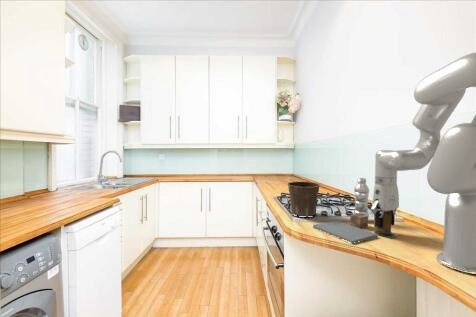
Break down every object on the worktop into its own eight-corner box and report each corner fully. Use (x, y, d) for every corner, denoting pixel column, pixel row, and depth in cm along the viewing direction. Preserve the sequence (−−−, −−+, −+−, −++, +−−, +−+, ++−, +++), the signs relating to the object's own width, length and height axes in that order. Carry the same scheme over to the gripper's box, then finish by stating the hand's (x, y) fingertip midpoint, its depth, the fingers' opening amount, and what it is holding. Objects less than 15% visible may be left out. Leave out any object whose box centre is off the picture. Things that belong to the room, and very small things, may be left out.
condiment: (377, 229, 106) (377, 201, 105) (399, 234, 99) (400, 205, 99) (369, 233, 101) (370, 204, 100) (392, 239, 95) (393, 208, 94)
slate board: (377, 237, 97) (377, 234, 97) (352, 244, 91) (352, 241, 90) (336, 222, 115) (336, 220, 115) (313, 227, 108) (313, 225, 108)
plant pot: (326, 218, 122) (326, 185, 121) (296, 221, 118) (296, 187, 117) (309, 209, 138) (309, 180, 137) (282, 212, 134) (282, 182, 133)
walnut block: (367, 227, 109) (368, 216, 108) (359, 229, 106) (360, 217, 106) (357, 224, 113) (357, 213, 113) (350, 225, 111) (350, 214, 110)
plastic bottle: (353, 221, 116) (353, 179, 115) (353, 217, 122) (354, 177, 121) (368, 223, 113) (369, 179, 112) (368, 219, 119) (369, 178, 118)
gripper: (380, 184, 92) (379, 232, 93) (408, 180, 99) (407, 224, 100) (362, 181, 98) (361, 226, 100) (389, 178, 106) (388, 219, 107)
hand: (384, 225), depth 100 cm, fingers closed on condiment, 6 cm apart
